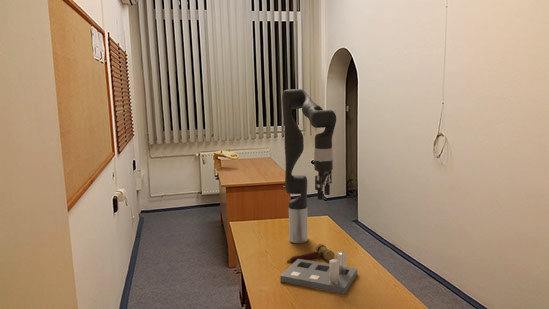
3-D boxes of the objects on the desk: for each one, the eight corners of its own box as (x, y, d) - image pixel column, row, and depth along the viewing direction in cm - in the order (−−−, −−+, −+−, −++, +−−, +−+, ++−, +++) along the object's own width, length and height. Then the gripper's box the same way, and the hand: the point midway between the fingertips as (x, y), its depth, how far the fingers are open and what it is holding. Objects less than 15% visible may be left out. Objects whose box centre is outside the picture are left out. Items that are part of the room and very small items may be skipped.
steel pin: (338, 274, 165) (338, 251, 164) (347, 276, 163) (347, 252, 162) (335, 278, 162) (335, 254, 160) (344, 279, 160) (344, 255, 159)
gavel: (290, 260, 173) (282, 252, 182) (291, 270, 174) (283, 262, 183) (334, 250, 179) (324, 242, 189) (335, 260, 180) (325, 252, 190)
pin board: (298, 264, 176) (297, 241, 175) (357, 274, 165) (357, 249, 163) (280, 281, 160) (279, 256, 159) (344, 294, 149) (344, 267, 147)
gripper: (320, 156, 175) (321, 192, 178) (308, 161, 163) (309, 200, 165) (337, 156, 172) (337, 194, 174) (326, 162, 159) (326, 202, 162)
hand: (323, 197), depth 170 cm, fingers open, 8 cm apart
